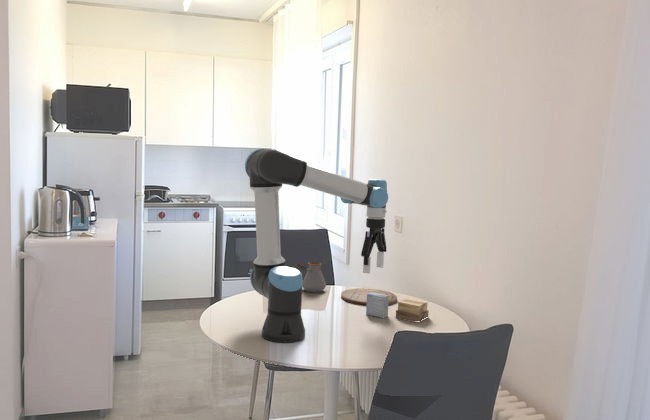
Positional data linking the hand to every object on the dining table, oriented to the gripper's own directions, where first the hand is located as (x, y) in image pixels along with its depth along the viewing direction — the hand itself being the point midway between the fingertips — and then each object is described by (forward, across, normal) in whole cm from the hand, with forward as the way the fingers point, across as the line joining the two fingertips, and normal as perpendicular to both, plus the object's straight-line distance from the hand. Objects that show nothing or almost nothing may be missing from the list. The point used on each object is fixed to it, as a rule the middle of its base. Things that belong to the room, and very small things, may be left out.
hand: (373, 270), depth 229 cm
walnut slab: (+18, +4, -16) cm, 25 cm away
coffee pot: (+18, +14, +38) cm, 44 cm away
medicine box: (+18, -1, -3) cm, 18 cm away
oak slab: (+15, +4, -16) cm, 22 cm away
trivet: (+19, +22, +10) cm, 30 cm away
